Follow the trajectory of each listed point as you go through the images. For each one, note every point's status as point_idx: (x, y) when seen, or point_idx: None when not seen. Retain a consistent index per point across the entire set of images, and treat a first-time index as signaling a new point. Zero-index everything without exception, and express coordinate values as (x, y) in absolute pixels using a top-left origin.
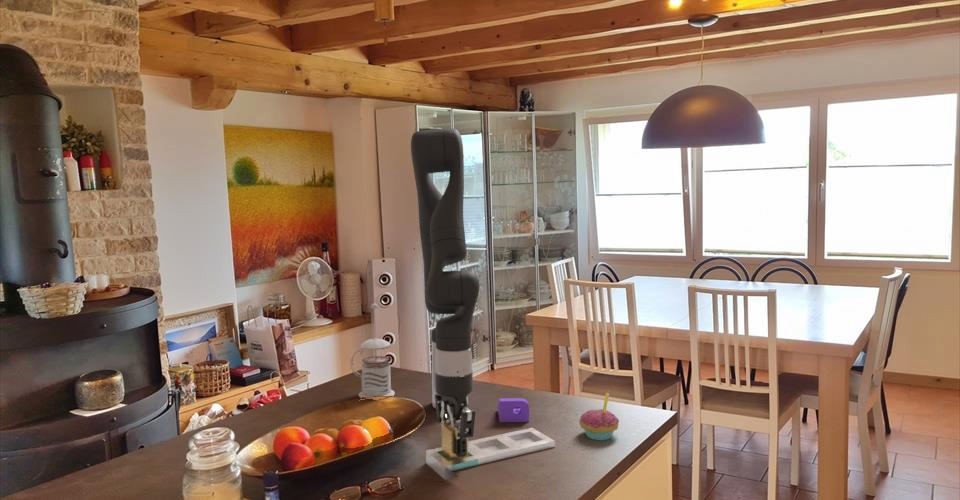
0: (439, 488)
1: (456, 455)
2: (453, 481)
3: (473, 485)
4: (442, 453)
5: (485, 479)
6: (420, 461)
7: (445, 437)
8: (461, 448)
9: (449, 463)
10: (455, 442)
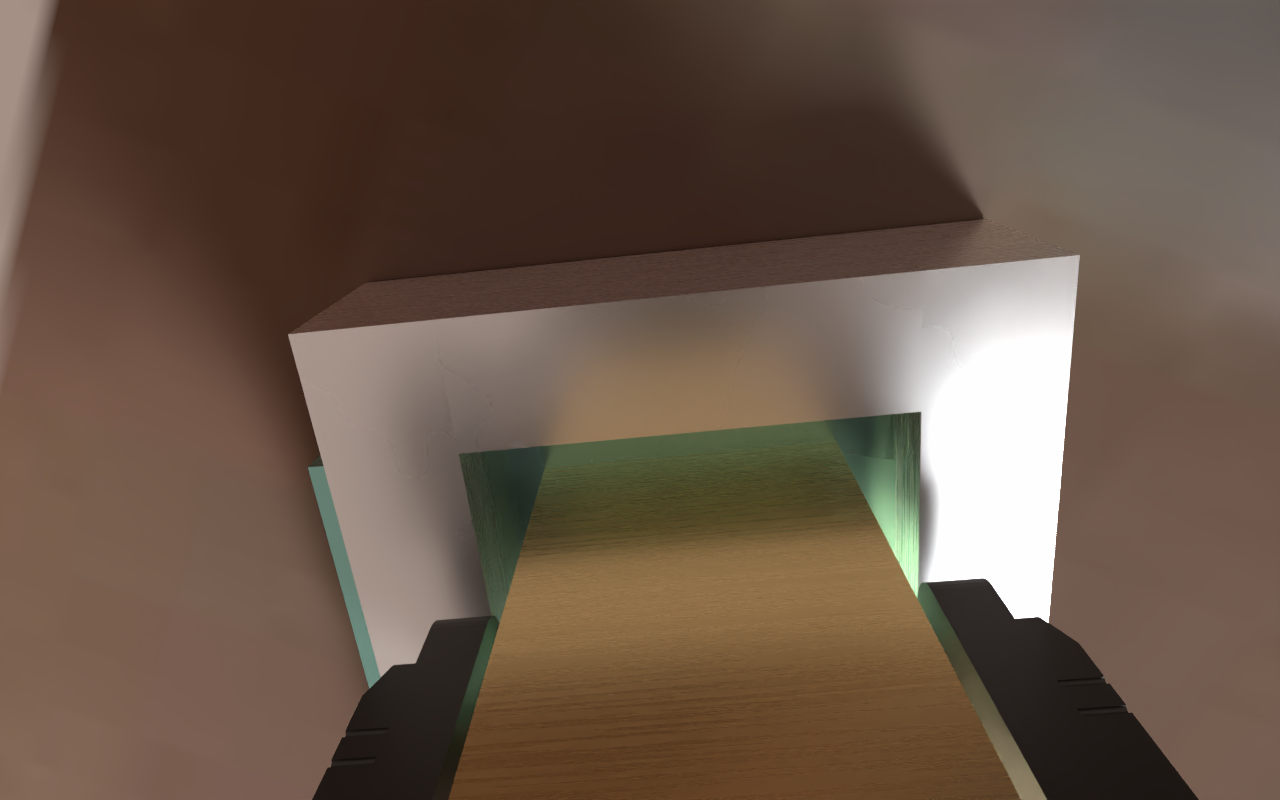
0: (125, 128)
1: (475, 617)
2: (290, 366)
3: (130, 531)
4: (826, 473)
5: (250, 683)
6: (1088, 161)
7: (737, 705)
8: (334, 773)
9: (374, 440)
10: (430, 785)
